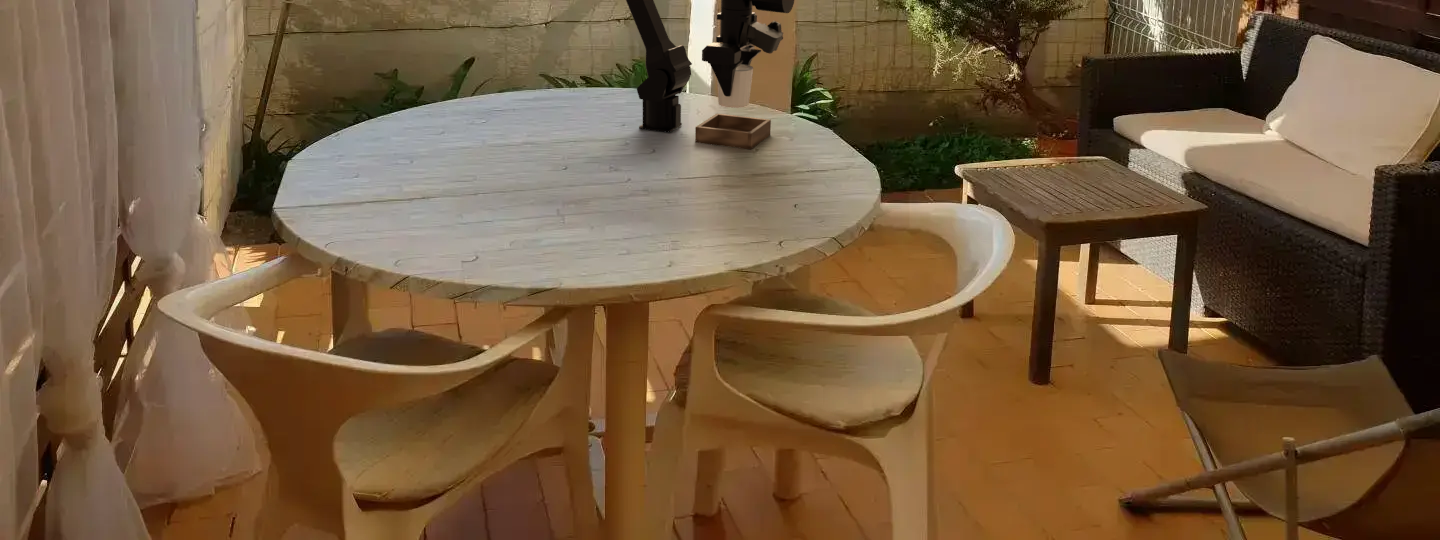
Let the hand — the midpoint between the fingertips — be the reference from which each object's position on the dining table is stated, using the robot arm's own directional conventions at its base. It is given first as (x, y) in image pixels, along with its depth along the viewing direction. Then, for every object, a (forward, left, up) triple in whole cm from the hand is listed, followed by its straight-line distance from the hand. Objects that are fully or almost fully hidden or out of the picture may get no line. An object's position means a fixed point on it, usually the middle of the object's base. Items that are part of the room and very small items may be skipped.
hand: (733, 92), depth 234 cm
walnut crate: (0, 0, -9) cm, 9 cm away
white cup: (0, 0, -2) cm, 2 cm away
